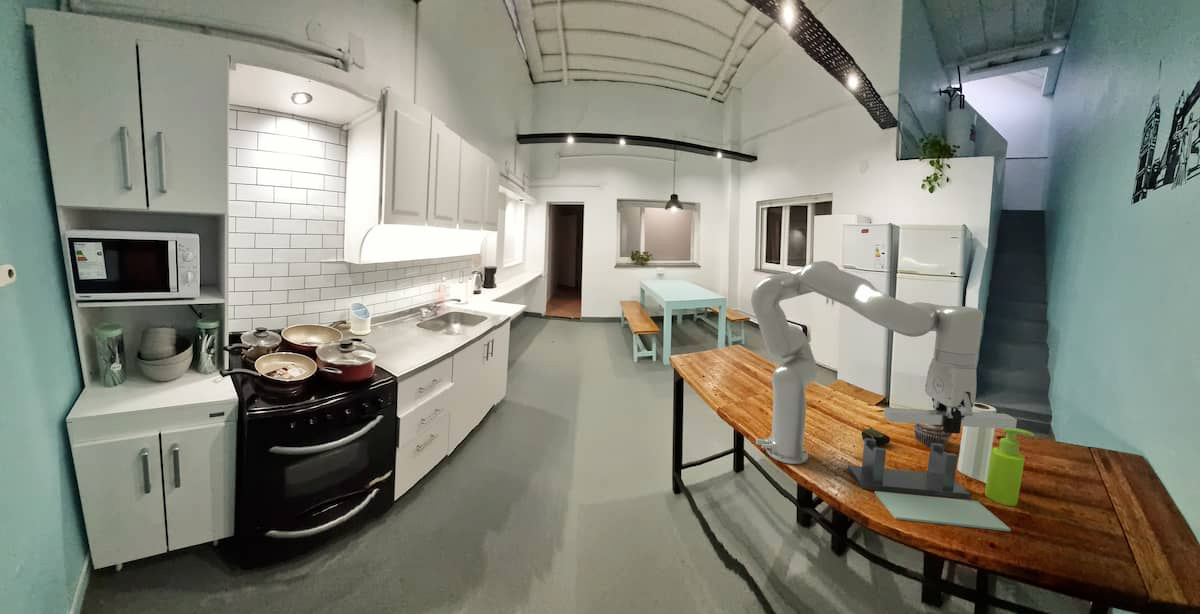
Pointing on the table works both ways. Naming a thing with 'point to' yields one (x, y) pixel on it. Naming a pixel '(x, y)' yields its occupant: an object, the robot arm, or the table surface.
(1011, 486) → the soap dispenser
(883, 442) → the tape measure
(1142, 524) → the table surface
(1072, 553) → the table surface
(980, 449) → the paper towel roll
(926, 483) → the rack
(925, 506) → the mat
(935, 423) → the rail
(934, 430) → the cupcake
